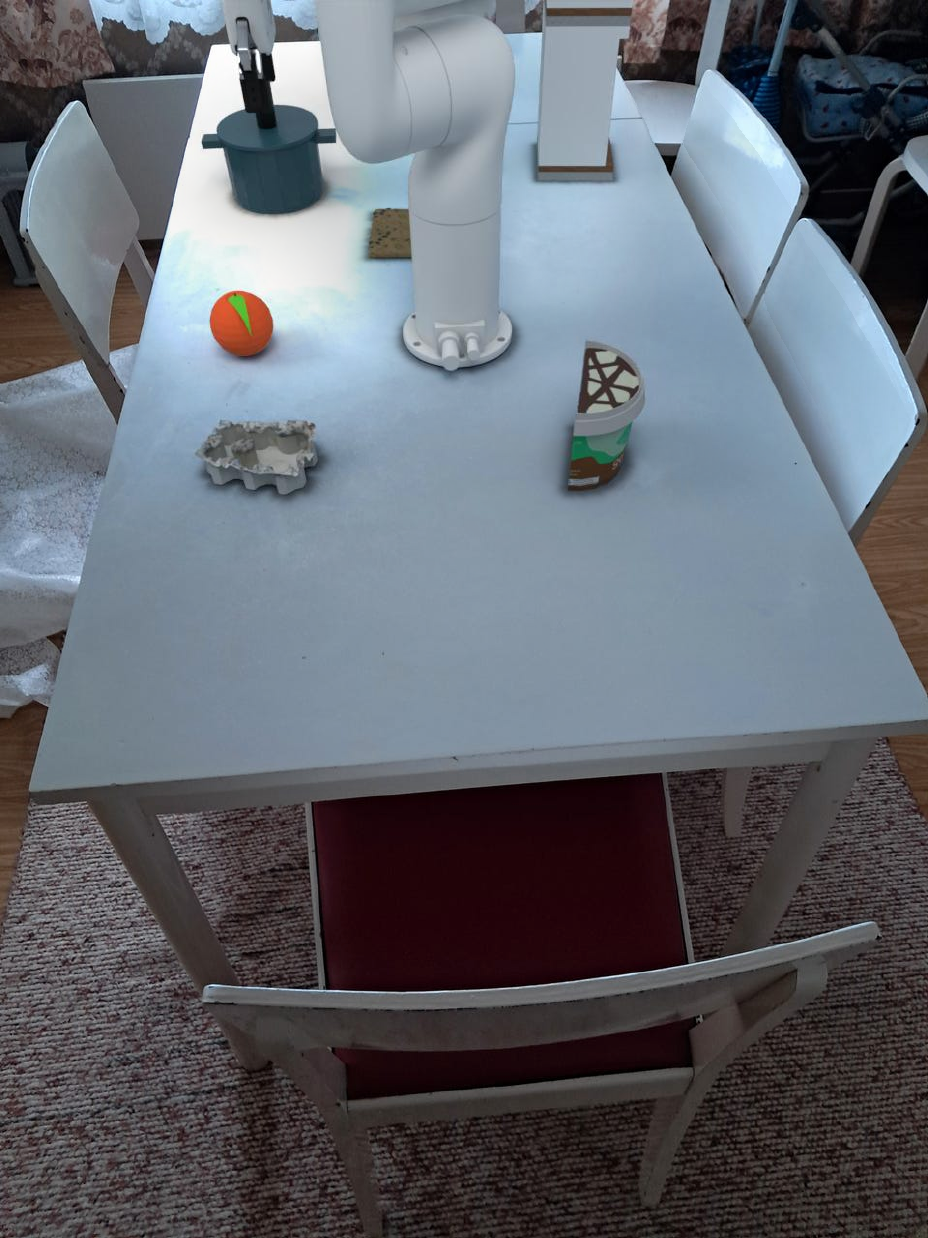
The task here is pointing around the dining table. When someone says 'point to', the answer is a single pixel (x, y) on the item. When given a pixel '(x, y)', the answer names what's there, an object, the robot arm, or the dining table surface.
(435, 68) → the robot arm
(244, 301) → the clementine
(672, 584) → the dining table surface
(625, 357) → the food container
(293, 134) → the pot lid
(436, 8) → the soup tureen
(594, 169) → the striped white pillar
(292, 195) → the pot
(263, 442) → the egg carton
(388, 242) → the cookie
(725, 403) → the dining table surface
